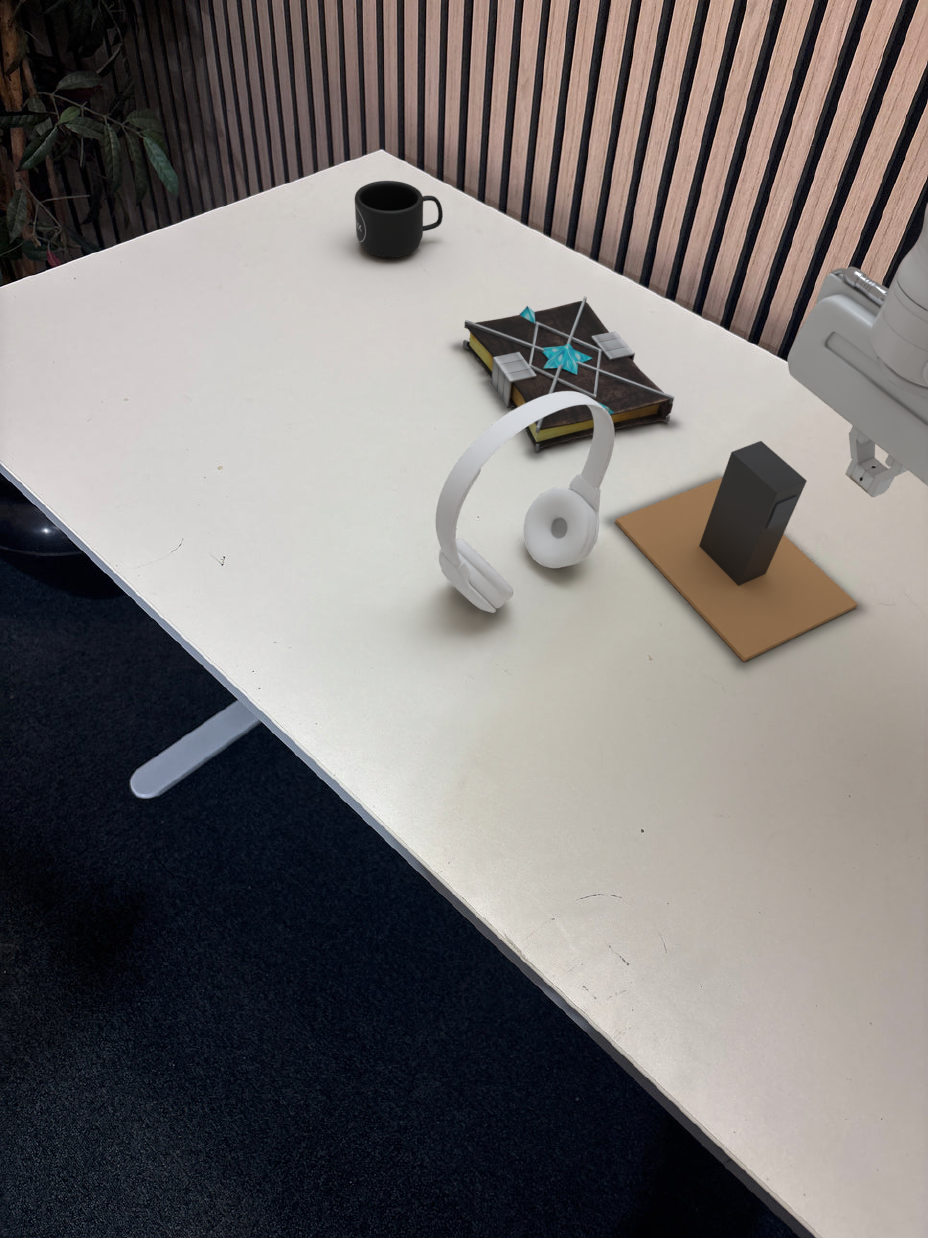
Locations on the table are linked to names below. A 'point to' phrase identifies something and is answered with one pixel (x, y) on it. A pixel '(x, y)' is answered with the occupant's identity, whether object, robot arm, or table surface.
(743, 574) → the device
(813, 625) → the mat
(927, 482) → the robot arm
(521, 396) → the book
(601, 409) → the headphones
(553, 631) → the table surface
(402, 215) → the mug
